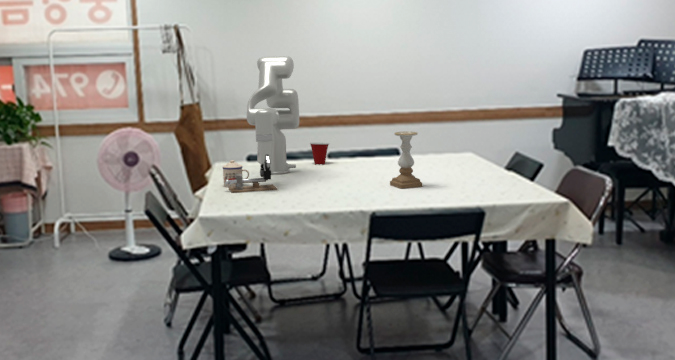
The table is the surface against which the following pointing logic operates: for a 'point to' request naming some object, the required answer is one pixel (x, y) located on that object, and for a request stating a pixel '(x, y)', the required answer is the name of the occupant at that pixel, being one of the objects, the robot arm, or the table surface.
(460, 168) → the table surface
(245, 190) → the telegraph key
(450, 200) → the table surface
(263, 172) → the hook rod
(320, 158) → the plastic cup
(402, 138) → the candle holder
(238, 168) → the teacup with lid
